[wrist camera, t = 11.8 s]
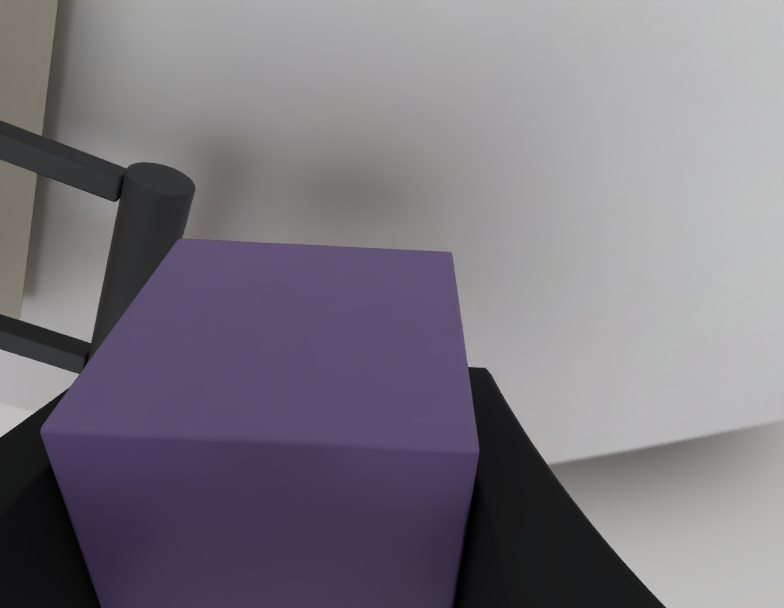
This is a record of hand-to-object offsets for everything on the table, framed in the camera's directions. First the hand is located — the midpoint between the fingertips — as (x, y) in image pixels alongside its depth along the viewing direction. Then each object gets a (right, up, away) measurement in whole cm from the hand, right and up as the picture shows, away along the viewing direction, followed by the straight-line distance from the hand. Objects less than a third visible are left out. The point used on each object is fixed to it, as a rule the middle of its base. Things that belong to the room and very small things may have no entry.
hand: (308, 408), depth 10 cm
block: (0, +1, +1) cm, 1 cm away
